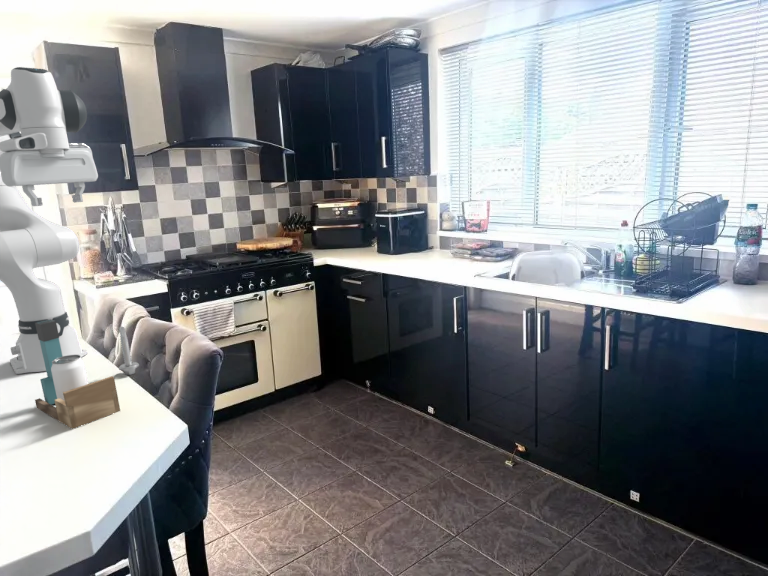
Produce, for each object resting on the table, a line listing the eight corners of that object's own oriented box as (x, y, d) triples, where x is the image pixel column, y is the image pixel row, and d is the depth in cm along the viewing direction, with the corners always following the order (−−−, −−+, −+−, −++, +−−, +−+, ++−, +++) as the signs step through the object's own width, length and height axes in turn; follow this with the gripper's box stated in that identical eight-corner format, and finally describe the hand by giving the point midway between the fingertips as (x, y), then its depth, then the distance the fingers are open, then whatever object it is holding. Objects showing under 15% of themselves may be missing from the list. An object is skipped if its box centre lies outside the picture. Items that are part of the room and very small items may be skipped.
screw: (119, 378, 140) (120, 372, 144) (139, 374, 141) (140, 368, 146) (110, 330, 137) (112, 325, 141) (131, 326, 138) (132, 322, 143)
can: (85, 400, 126) (75, 352, 124) (97, 406, 122) (87, 356, 120) (55, 411, 122) (44, 361, 119) (67, 417, 118) (56, 366, 115)
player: (44, 402, 125) (27, 324, 121) (73, 393, 130) (57, 317, 126) (49, 405, 123) (32, 326, 119) (79, 395, 128) (63, 319, 124)
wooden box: (36, 407, 124) (29, 375, 122) (82, 392, 132) (75, 361, 130) (72, 429, 112) (64, 393, 110) (120, 410, 119) (113, 376, 117)
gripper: (81, 143, 132) (92, 200, 135) (-11, 143, 115) (4, 208, 118) (97, 141, 129) (108, 199, 132) (5, 141, 112) (19, 207, 115)
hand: (58, 204), depth 125 cm, fingers open, 8 cm apart
